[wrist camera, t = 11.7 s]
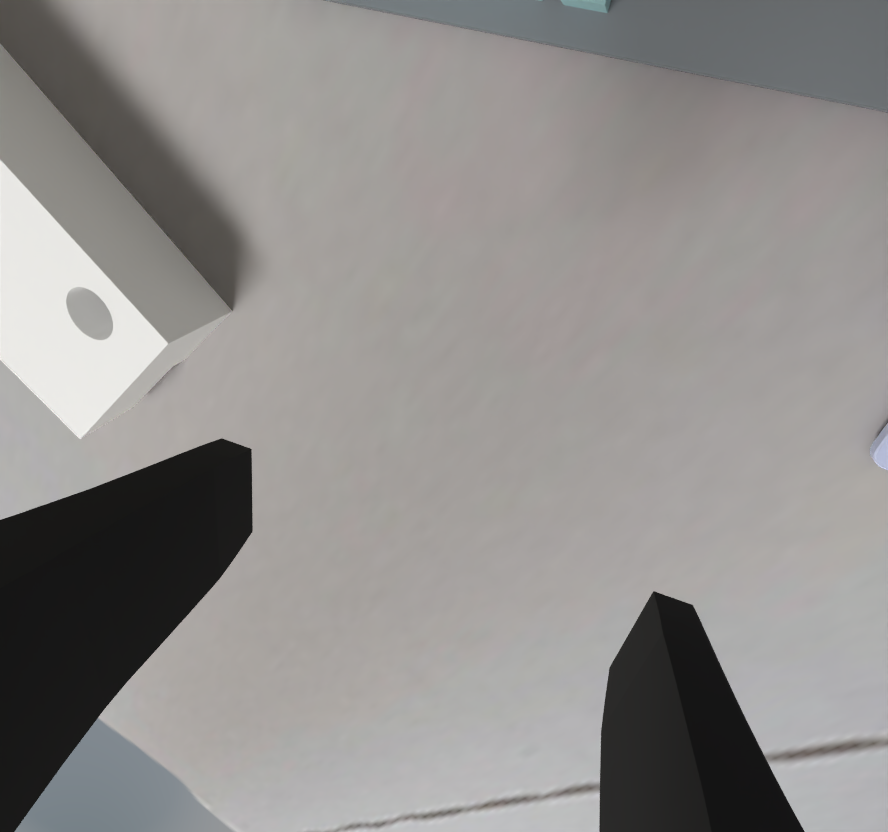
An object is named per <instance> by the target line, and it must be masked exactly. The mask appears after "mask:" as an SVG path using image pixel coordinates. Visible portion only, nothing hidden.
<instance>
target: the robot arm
mask: <svg viewBox="0 0 888 832" xmlns="http://www.w3.org/2000/svg"><path fill="white" fill-rule="evenodd" d="M870 455H871V457H872V458H873V460H874V461H875V462H876V464H877V465H878V466H879V467H881V468H883V469H886V470H888V423H887V424H886V426H885V427H884V428H883V430H882V431H881V432H880V434H879V435H878V437H877V438H876V439H875V441H874V442H873V443H872V445H871V448H870ZM251 533H252V458H251V449H250V448H247V447H244V446H241V445H239V444H236V443H233V442H230V441H227V440H224V439H219V440H216V441H213V442H210V443H208V444H205V445H202V446H199V447H197V448H194V449H192V450H189V451H186V452H184V453H181V454H179V455H176V456H174V457H171V458H169V459H166V460H164V461H161V462H159V463H156V464H153V465H151V466H148V467H146V468H143V469H141V470H138V471H136V472H133V473H130V474H128V475H125V476H123V477H120V478H117V479H115V480H112V481H110V482H107V483H104V484H102V485H99V486H97V487H94V488H91V489H89V490H86V491H83V492H80V493H77V494H74V495H72V496H69V497H66V498H63V499H60V500H57V501H54V502H51V503H49V504H46V505H43V506H40V507H37V508H34V509H31V510H29V511H26V512H23V513H20V514H17V515H14V516H11V517H8V518H5V519H2V520H0V832H14V831H15V830H16V828H17V827H18V826H19V824H20V823H21V821H22V820H23V819H24V817H25V816H26V815H27V813H28V812H29V810H30V809H31V807H32V806H33V805H34V803H35V802H36V801H37V799H38V798H39V796H40V795H41V793H42V792H43V791H44V789H45V788H46V787H47V785H48V784H49V783H50V781H51V780H52V778H53V777H54V775H55V774H56V773H57V771H58V770H59V769H60V767H61V766H62V764H63V763H64V762H65V761H66V759H67V758H68V757H69V755H70V754H71V753H72V751H73V750H74V749H75V747H76V746H77V745H78V743H79V742H80V741H81V739H82V738H83V737H84V735H85V734H86V733H87V731H88V730H89V729H90V727H91V726H92V725H93V723H94V722H95V721H96V719H97V718H98V717H99V715H100V714H101V713H102V712H103V710H104V709H105V708H106V706H107V705H108V704H109V703H110V702H111V700H112V699H113V698H114V697H115V696H116V694H117V693H118V692H119V691H120V690H121V688H122V687H123V686H124V685H125V684H126V683H127V681H128V680H129V679H130V678H131V677H132V676H133V675H134V674H135V673H136V671H137V670H138V669H139V668H140V667H141V666H142V665H143V664H144V663H145V661H146V660H147V659H148V658H149V657H150V656H151V655H152V654H153V653H154V651H155V650H156V649H157V648H158V647H159V646H160V645H161V644H162V643H163V641H164V640H165V639H166V638H167V637H168V636H169V635H170V634H171V633H172V632H173V630H174V629H175V628H176V627H177V626H178V625H179V624H180V623H181V622H182V620H183V619H184V618H185V617H186V616H187V615H188V614H189V613H190V612H191V610H192V609H193V608H194V607H195V606H196V605H197V604H198V603H199V601H200V600H201V599H202V598H203V597H204V596H205V595H206V594H207V592H208V591H209V590H210V589H211V588H212V587H213V586H214V584H215V583H216V582H217V581H218V580H219V579H220V577H221V576H222V575H223V573H224V572H225V571H226V569H227V568H228V566H229V565H230V564H231V562H232V561H233V559H234V558H235V557H236V555H237V554H238V552H239V551H240V549H241V548H242V546H243V545H244V543H245V542H246V540H247V539H248V537H249V536H250V534H251ZM600 832H804V830H803V828H802V826H801V825H800V823H799V821H798V819H797V817H796V815H795V814H794V812H793V810H792V808H791V806H790V805H789V803H788V801H787V799H786V797H785V795H784V793H783V791H782V789H781V788H780V786H779V784H778V782H777V780H776V778H775V776H774V774H773V772H772V770H771V768H770V766H769V764H768V762H767V760H766V758H765V756H764V754H763V752H762V751H761V749H760V747H759V745H758V743H757V741H756V739H755V737H754V735H753V733H752V731H751V729H750V727H749V725H748V723H747V721H746V719H745V716H744V714H743V712H742V710H741V708H740V706H739V704H738V702H737V700H736V698H735V696H734V693H733V691H732V689H731V687H730V685H729V683H728V681H727V678H726V676H725V674H724V672H723V670H722V668H721V665H720V663H719V661H718V659H717V657H716V654H715V652H714V650H713V648H712V646H711V643H710V641H709V639H708V637H707V635H706V632H705V630H704V628H703V626H702V623H701V621H700V619H699V617H698V615H697V613H696V611H695V609H694V607H693V605H691V604H688V603H685V602H682V601H680V600H677V599H674V598H671V597H668V596H665V595H663V594H660V593H657V592H654V591H653V593H652V595H651V597H650V598H649V600H648V602H647V604H646V605H645V607H644V609H643V611H642V612H641V614H640V616H639V617H638V619H637V621H636V623H635V624H634V626H633V628H632V630H631V631H630V633H629V635H628V637H627V638H626V640H625V642H624V644H623V645H622V647H621V649H620V651H619V652H618V654H617V656H616V657H615V659H614V661H613V663H612V664H611V666H610V669H609V676H608V683H607V690H606V698H605V705H604V713H603V722H602V730H601V769H600Z"/></svg>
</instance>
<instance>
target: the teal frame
mask: <svg viewBox="0 0 888 832" xmlns="http://www.w3.org/2000/svg"><path fill="white" fill-rule="evenodd" d="M539 1H543V0H539ZM561 2H562V3H563V5H566V6H572V7H577V8H582V9H588V10H593V11H599V12H604V13H608V9H609V6H610V2H611V0H561Z"/></svg>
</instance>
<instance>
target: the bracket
mask: <svg viewBox="0 0 888 832" xmlns="http://www.w3.org/2000/svg"><path fill="white" fill-rule="evenodd" d="M231 312H232V310H231V309H230V308H229V307H228V305H227V304H226V303H225V302H224V301H223V300H222V298H221V297H220V296H219V295H218V294H217V293H216V292H215V290H214V289H213V288H212V287H211V286H210V285H209V283H208V282H207V281H206V280H205V279H204V278H203V277H202V275H201V274H200V273H199V272H198V271H197V270H196V268H195V267H194V266H193V265H192V264H191V263H190V262H189V260H188V259H187V258H186V257H185V256H184V255H183V254H182V252H181V251H180V250H179V249H178V248H177V247H176V245H175V244H174V243H173V242H172V241H171V240H170V239H169V237H168V236H167V235H166V234H165V233H164V232H163V230H162V229H161V228H160V227H159V226H158V225H157V224H156V222H155V221H154V220H153V219H152V218H151V217H150V215H149V214H148V213H147V212H146V211H145V210H144V209H143V207H142V206H141V205H140V204H139V203H138V202H137V200H136V199H135V198H134V197H133V196H132V195H131V194H130V192H129V191H128V190H127V189H126V188H125V187H124V186H123V184H122V183H121V182H120V181H119V180H118V179H117V177H116V176H115V175H114V174H113V173H112V172H111V171H110V169H109V168H108V167H107V166H106V165H105V164H104V162H103V161H102V160H101V159H100V158H99V157H98V156H97V154H96V153H95V152H94V151H93V150H92V149H91V147H90V146H89V145H88V144H87V143H86V142H85V141H84V139H83V138H82V137H81V136H80V135H79V134H78V132H77V131H76V130H75V129H74V128H73V127H72V126H71V124H70V123H69V122H68V121H67V120H66V119H65V117H64V116H63V115H62V114H61V113H60V112H59V111H58V109H57V108H56V107H55V106H54V105H53V104H52V103H51V101H50V100H49V99H48V98H47V97H46V96H45V94H44V93H43V92H42V91H41V90H40V89H39V88H38V86H37V85H36V84H35V83H34V82H33V81H32V79H31V78H30V77H29V76H28V75H27V74H26V73H25V71H24V70H23V69H22V68H21V67H20V66H19V64H18V63H17V62H16V61H15V60H14V59H13V58H12V56H11V55H10V54H9V53H8V52H7V51H6V49H5V48H4V47H3V46H2V45H1V44H0V360H1V361H2V362H3V363H4V364H5V365H6V366H7V367H8V368H9V369H10V370H11V371H12V372H13V373H14V374H15V375H16V376H17V377H18V378H19V379H20V380H21V381H22V382H23V383H24V384H25V385H26V386H27V387H28V388H29V389H30V390H31V391H32V392H33V393H34V394H35V395H36V396H37V397H38V398H39V399H40V400H41V401H42V402H43V403H44V404H45V405H46V406H47V407H48V408H49V409H50V410H51V411H52V412H53V413H54V414H55V415H56V416H57V417H58V418H59V419H60V420H61V421H62V422H63V423H64V424H65V425H66V426H67V427H68V428H69V429H70V430H71V431H72V432H73V433H74V434H75V435H76V436H77V437H78V438H79V439H82V438H83V437H85V436H87V435H88V434H90V433H92V432H93V431H95V430H97V429H98V428H100V427H102V426H103V425H105V424H107V423H109V422H110V421H112V420H114V419H115V418H117V417H119V416H120V415H122V414H124V413H125V412H127V411H129V410H130V409H132V408H133V407H134V406H135V405H136V404H137V403H138V402H139V401H140V400H141V399H142V398H143V397H144V396H145V395H146V394H147V393H148V392H149V391H150V390H151V389H152V388H153V387H154V386H155V385H156V383H157V382H158V381H159V380H160V379H161V378H162V377H163V376H164V375H165V374H166V373H167V372H168V371H169V370H170V369H171V368H172V367H173V366H175V365H177V364H178V363H180V362H182V361H184V360H185V359H186V358H187V357H188V356H189V355H190V354H191V353H192V352H193V351H194V350H195V349H196V348H197V347H198V346H199V345H200V344H201V343H202V342H203V341H204V340H205V339H206V338H207V337H208V336H209V335H210V334H211V333H212V332H213V331H214V330H215V329H216V328H217V327H218V326H219V325H220V324H221V323H222V322H223V321H224V320H225V319H226V317H227V316H228V315H229V314H230V313H231Z"/></svg>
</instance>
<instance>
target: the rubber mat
mask: <svg viewBox="0 0 888 832" xmlns="http://www.w3.org/2000/svg"><path fill="white" fill-rule="evenodd" d="M325 1H330V2H335V3H340V4H345V5H350V6H355V7H360V8H365V9H370V10H375V11H381V12H386V13H391V14H396V15H401V16H406V17H411V18H416V19H421V20H426V21H431V22H436V23H441V24H446V25H451V26H456V27H461V28H466V29H471V30H476V31H481V32H486V33H491V34H496V35H501V36H506V37H511V38H516V39H521V40H526V41H531V42H536V43H541V44H546V45H551V46H556V47H561V48H566V49H571V50H576V51H581V52H587V53H592V54H597V55H602V56H607V57H612V58H617V59H622V60H627V61H632V62H637V63H642V64H647V65H652V66H657V67H662V68H667V69H672V70H677V71H682V72H687V73H692V74H697V75H702V76H707V77H712V78H717V79H722V80H727V81H732V82H737V83H742V84H747V85H752V86H757V87H762V88H767V89H772V90H777V91H782V92H788V93H793V94H798V95H803V96H808V97H813V98H818V99H823V100H828V101H833V102H838V103H843V104H848V105H853V106H858V107H863V108H868V109H873V110H878V111H883V112H888V0H611V2H610V6H609V9H608V13H604V12H599V11H593V10H588V9H582V8H577V7H572V6H566V5H563V3H562V2H561V0H543V1H539V0H325Z"/></svg>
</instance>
